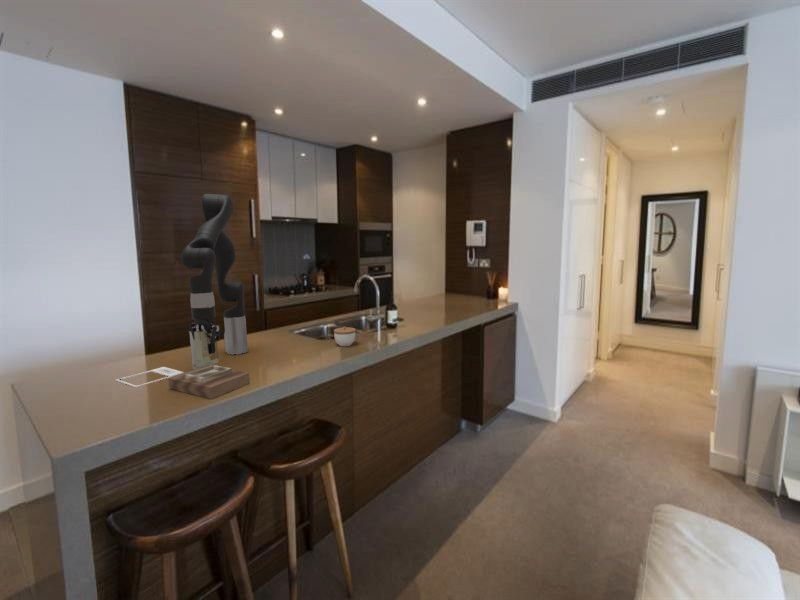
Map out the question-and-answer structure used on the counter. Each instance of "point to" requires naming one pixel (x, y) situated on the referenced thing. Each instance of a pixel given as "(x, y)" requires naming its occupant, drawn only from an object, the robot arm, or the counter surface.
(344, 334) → the lidded jar
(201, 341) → the skincare box
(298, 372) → the counter surface
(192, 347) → the travel mug
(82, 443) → the counter surface
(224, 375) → the display stand
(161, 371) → the photo frame
